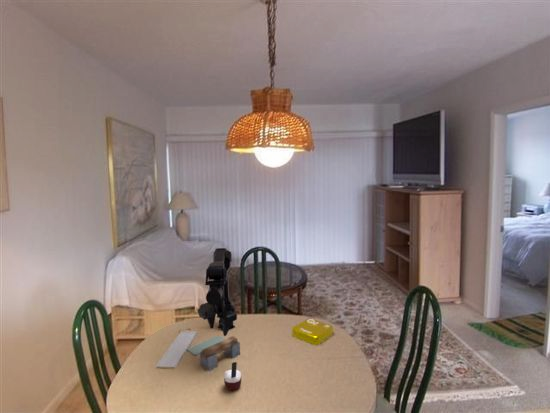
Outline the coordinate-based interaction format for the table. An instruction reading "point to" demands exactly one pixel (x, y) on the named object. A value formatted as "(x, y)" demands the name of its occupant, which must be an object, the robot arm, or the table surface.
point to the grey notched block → (209, 361)
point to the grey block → (233, 350)
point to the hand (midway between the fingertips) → (218, 332)
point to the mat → (204, 345)
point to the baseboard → (176, 350)
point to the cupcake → (232, 377)
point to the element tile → (312, 331)
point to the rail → (219, 347)
